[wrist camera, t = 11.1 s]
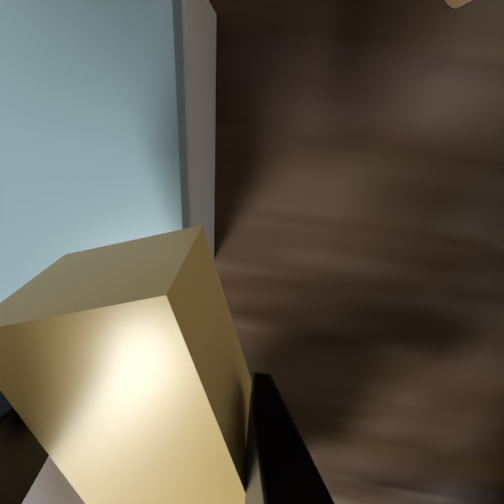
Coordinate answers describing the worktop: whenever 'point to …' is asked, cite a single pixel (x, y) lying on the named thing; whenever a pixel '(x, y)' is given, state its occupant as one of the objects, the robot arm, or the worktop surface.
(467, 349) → the worktop surface
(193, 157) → the storage box
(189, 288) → the tan rectangular prism
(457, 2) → the small box
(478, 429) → the worktop surface
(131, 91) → the lid
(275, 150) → the worktop surface
